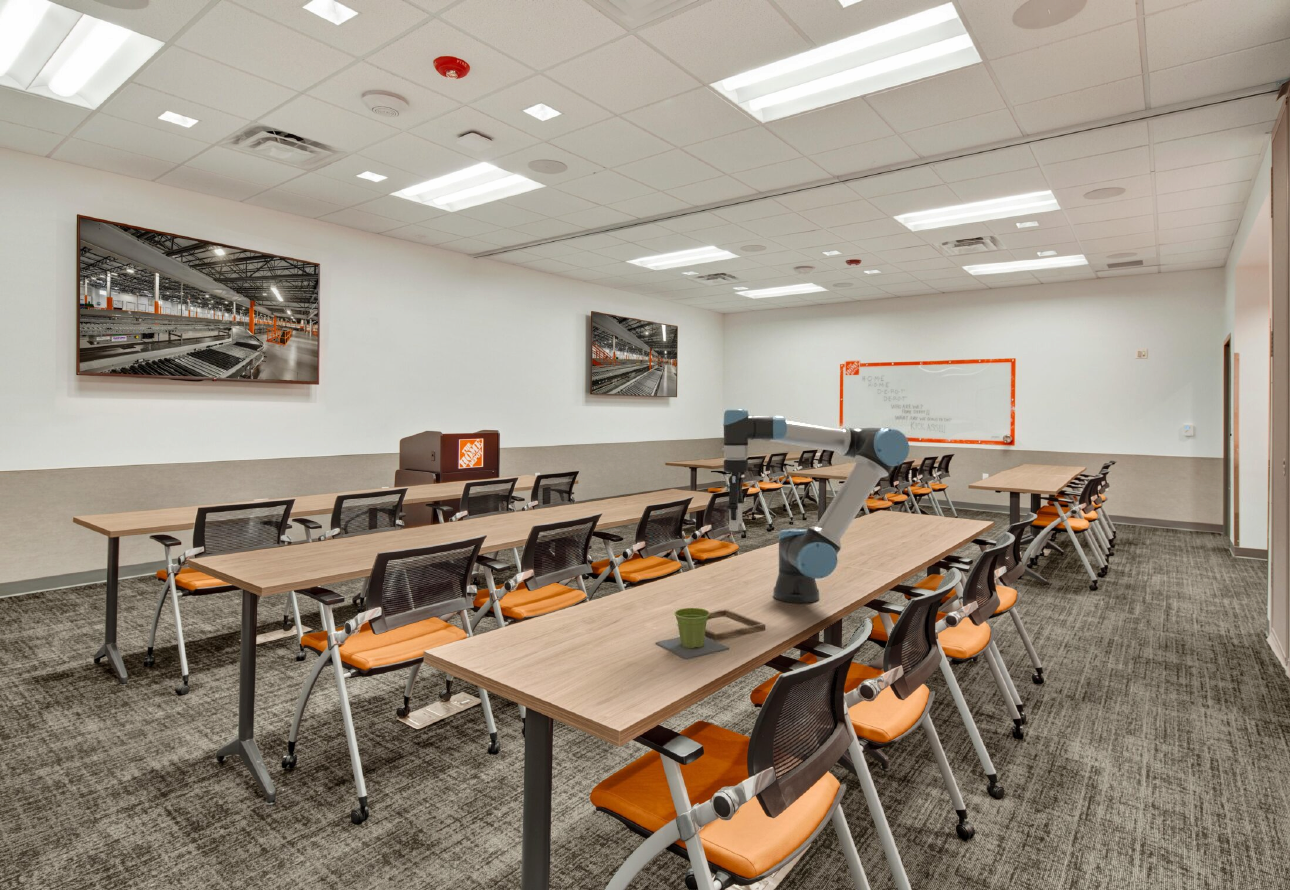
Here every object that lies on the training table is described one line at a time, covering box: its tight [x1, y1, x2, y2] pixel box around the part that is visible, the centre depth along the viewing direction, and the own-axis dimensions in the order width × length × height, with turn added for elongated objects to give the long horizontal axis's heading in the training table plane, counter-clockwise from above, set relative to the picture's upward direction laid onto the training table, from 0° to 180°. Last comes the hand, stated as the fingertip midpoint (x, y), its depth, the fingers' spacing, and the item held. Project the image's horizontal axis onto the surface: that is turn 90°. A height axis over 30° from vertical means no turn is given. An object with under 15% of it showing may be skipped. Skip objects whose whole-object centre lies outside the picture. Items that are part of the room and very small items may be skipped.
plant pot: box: [673, 607, 710, 648], centre depth 173 cm, size 9×9×9 cm
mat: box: [655, 636, 730, 661], centre depth 173 cm, size 14×14×1 cm
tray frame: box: [705, 608, 766, 642], centre depth 190 cm, size 18×18×2 cm
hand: (735, 527), depth 203 cm, fingers open, 13 cm apart
